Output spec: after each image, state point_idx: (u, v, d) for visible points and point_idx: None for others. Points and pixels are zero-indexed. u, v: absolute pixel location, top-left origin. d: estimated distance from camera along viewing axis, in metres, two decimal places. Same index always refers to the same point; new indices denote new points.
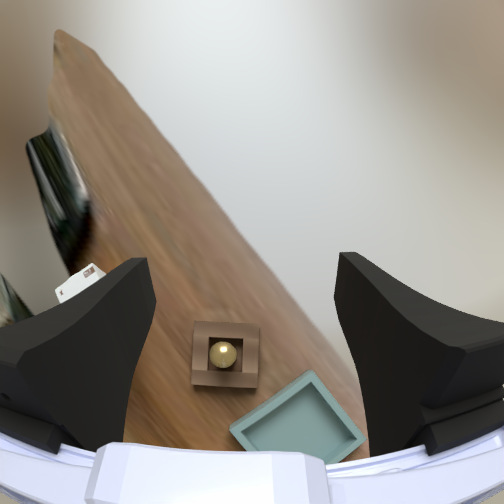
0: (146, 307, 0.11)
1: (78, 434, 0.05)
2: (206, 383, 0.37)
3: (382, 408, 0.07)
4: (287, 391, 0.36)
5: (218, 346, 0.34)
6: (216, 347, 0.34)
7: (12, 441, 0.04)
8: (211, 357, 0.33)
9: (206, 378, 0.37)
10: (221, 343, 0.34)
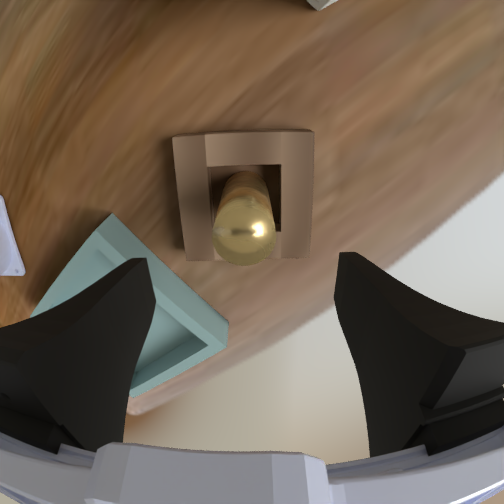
0: (146, 307, 0.11)
1: (78, 434, 0.05)
2: (179, 168, 0.18)
3: (382, 408, 0.07)
4: (186, 316, 0.22)
5: (263, 226, 0.14)
6: (261, 223, 0.14)
7: (12, 441, 0.04)
8: (234, 212, 0.14)
9: (190, 167, 0.18)
10: (271, 232, 0.14)
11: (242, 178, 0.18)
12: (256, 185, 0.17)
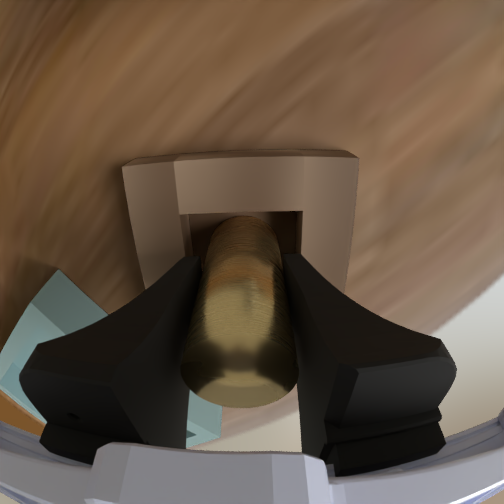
0: None
1: None
2: (136, 216, 0.11)
3: (307, 418, 0.07)
4: None
5: (275, 362, 0.07)
6: (272, 357, 0.07)
7: (76, 465, 0.04)
8: (219, 342, 0.07)
9: (153, 216, 0.11)
10: (291, 369, 0.07)
11: (238, 235, 0.11)
12: (261, 252, 0.10)
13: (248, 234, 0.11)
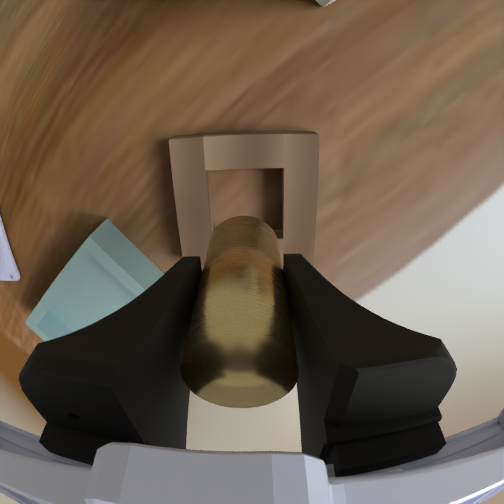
0: None
1: None
2: (176, 172, 0.17)
3: (307, 418, 0.07)
4: None
5: (275, 362, 0.07)
6: (272, 357, 0.07)
7: (76, 465, 0.04)
8: (219, 341, 0.07)
9: (188, 171, 0.17)
10: (290, 369, 0.07)
11: (238, 235, 0.11)
12: (261, 252, 0.10)
13: (248, 234, 0.11)
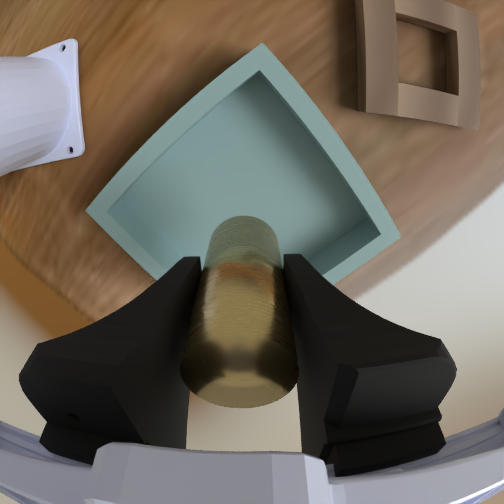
0: None
1: None
2: (367, 5, 0.12)
3: (307, 418, 0.07)
4: (366, 183, 0.15)
5: (277, 363, 0.07)
6: (274, 359, 0.07)
7: (76, 465, 0.04)
8: (222, 341, 0.07)
9: (379, 8, 0.12)
10: (291, 371, 0.07)
11: (240, 234, 0.11)
12: (264, 253, 0.10)
13: (251, 234, 0.11)
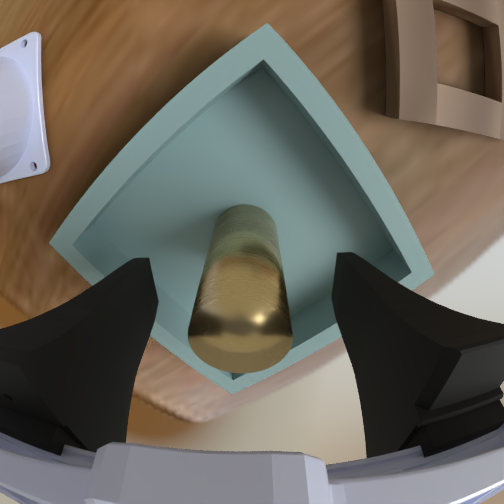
0: (149, 307, 0.11)
1: (82, 435, 0.05)
2: None
3: (378, 409, 0.07)
4: (400, 211, 0.12)
5: (273, 327, 0.08)
6: (270, 322, 0.08)
7: (15, 442, 0.04)
8: (225, 305, 0.08)
9: None
10: (286, 335, 0.09)
11: (242, 220, 0.12)
12: (263, 236, 0.12)
13: (251, 220, 0.13)
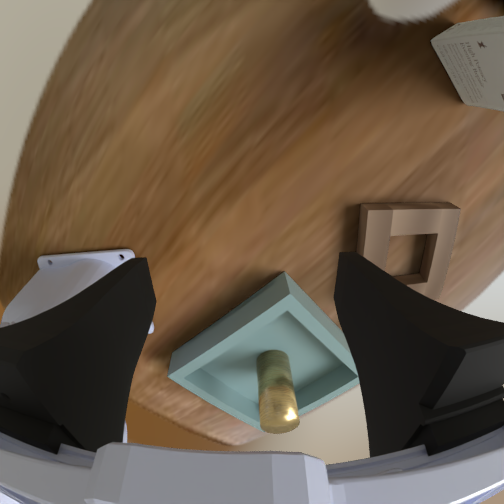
0: (146, 307, 0.11)
1: (78, 434, 0.05)
2: (368, 236, 0.21)
3: (382, 408, 0.07)
4: (350, 356, 0.24)
5: (292, 420, 0.21)
6: (291, 419, 0.21)
7: (12, 441, 0.04)
8: (275, 416, 0.20)
9: (377, 236, 0.21)
10: (296, 421, 0.21)
11: (274, 365, 0.25)
12: (284, 375, 0.24)
13: (278, 364, 0.25)
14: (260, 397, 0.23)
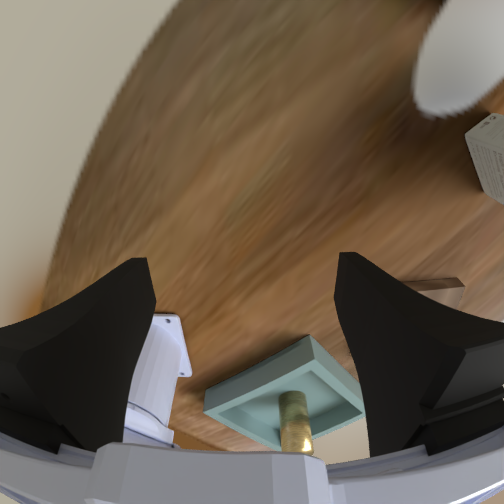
0: (146, 307, 0.11)
1: (78, 434, 0.05)
2: None
3: (382, 408, 0.07)
4: (358, 399, 0.27)
5: (308, 451, 0.24)
6: (307, 450, 0.24)
7: (12, 441, 0.04)
8: (295, 449, 0.24)
9: None
10: (311, 452, 0.24)
11: (294, 404, 0.28)
12: (303, 413, 0.27)
13: (297, 403, 0.28)
14: (282, 432, 0.26)
